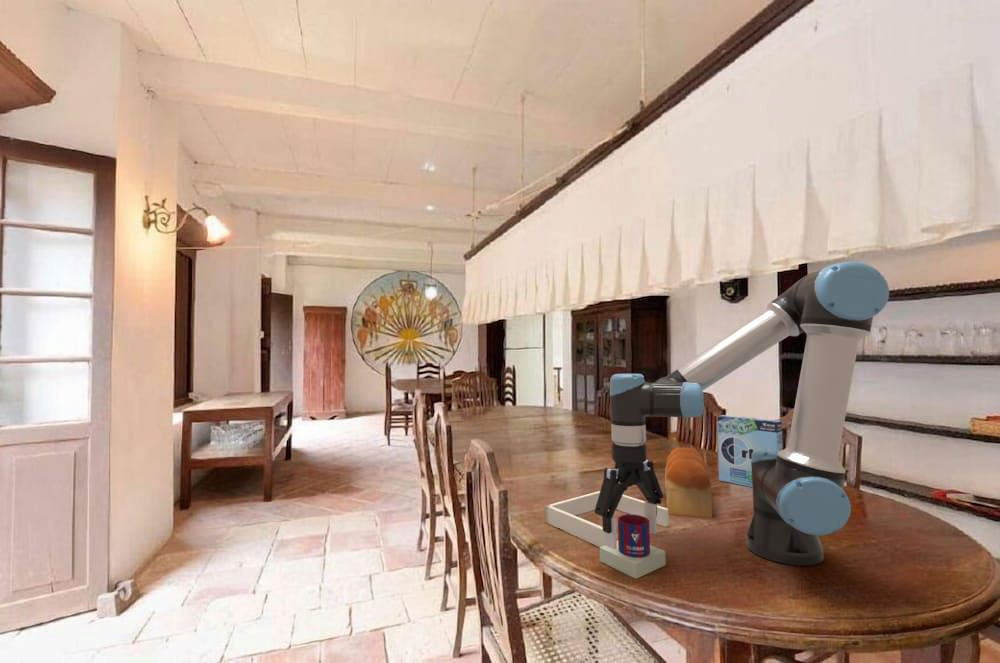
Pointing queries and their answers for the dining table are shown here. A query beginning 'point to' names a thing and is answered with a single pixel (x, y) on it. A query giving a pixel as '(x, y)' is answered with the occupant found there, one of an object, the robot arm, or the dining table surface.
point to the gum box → (744, 445)
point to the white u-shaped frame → (588, 531)
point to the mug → (633, 535)
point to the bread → (687, 484)
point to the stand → (633, 561)
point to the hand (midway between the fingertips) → (631, 539)
